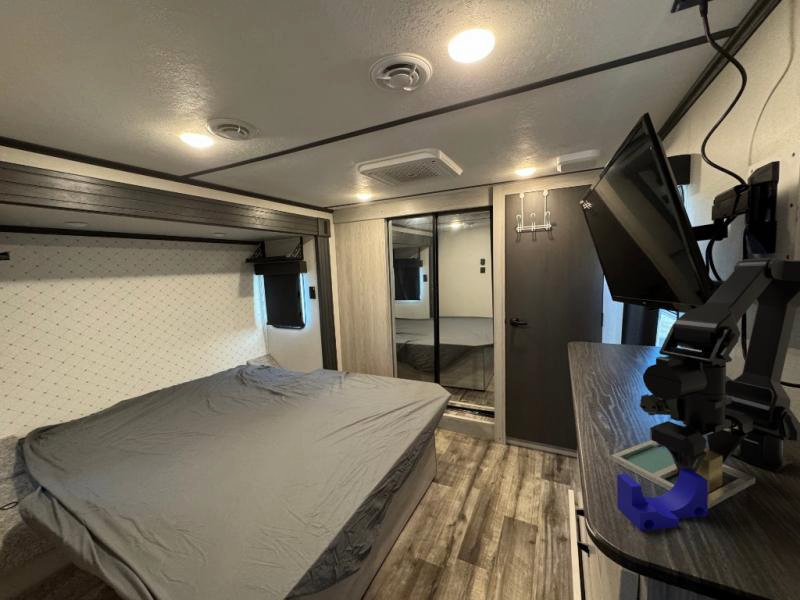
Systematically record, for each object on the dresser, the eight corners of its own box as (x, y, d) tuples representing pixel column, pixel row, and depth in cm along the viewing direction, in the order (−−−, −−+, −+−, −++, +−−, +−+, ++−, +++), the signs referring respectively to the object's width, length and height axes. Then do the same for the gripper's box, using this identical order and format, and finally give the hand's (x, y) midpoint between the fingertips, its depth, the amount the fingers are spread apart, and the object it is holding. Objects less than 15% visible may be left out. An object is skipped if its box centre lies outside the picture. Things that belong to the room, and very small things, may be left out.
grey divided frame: (657, 441, 68) (657, 437, 68) (755, 482, 54) (755, 477, 54) (610, 459, 62) (610, 455, 62) (705, 510, 48) (705, 504, 48)
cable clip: (640, 531, 46) (639, 493, 45) (617, 509, 50) (617, 474, 50) (717, 524, 46) (718, 486, 46) (688, 502, 50) (688, 468, 50)
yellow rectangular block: (693, 472, 57) (693, 444, 57) (722, 485, 54) (722, 455, 53) (680, 478, 56) (680, 449, 56) (709, 492, 52) (709, 461, 52)
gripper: (679, 368, 64) (679, 439, 65) (618, 384, 58) (619, 463, 59) (755, 384, 54) (753, 468, 55) (691, 406, 47) (691, 501, 49)
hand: (701, 473), depth 55 cm, fingers open, 9 cm apart
